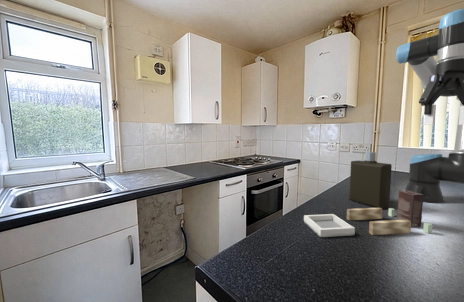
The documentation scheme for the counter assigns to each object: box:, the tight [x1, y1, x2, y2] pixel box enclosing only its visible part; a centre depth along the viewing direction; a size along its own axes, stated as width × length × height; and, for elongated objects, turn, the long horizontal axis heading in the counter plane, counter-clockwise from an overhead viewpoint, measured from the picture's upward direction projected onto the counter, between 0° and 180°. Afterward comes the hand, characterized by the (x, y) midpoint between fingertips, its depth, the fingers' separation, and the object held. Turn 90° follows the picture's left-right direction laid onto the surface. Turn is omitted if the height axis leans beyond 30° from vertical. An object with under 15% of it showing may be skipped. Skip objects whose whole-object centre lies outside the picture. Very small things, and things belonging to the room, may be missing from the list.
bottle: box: [348, 151, 392, 210], centre depth 98 cm, size 8×16×25 cm, turn 28°
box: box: [396, 189, 424, 228], centre depth 76 cm, size 6×4×12 cm
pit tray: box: [303, 213, 356, 238], centre depth 73 cm, size 12×12×2 cm
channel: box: [346, 207, 412, 236], centre depth 75 cm, size 14×13×4 cm
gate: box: [387, 207, 433, 234], centre depth 76 cm, size 2×16×3 cm, turn 6°
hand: (446, 124), depth 70 cm, fingers open, 13 cm apart
